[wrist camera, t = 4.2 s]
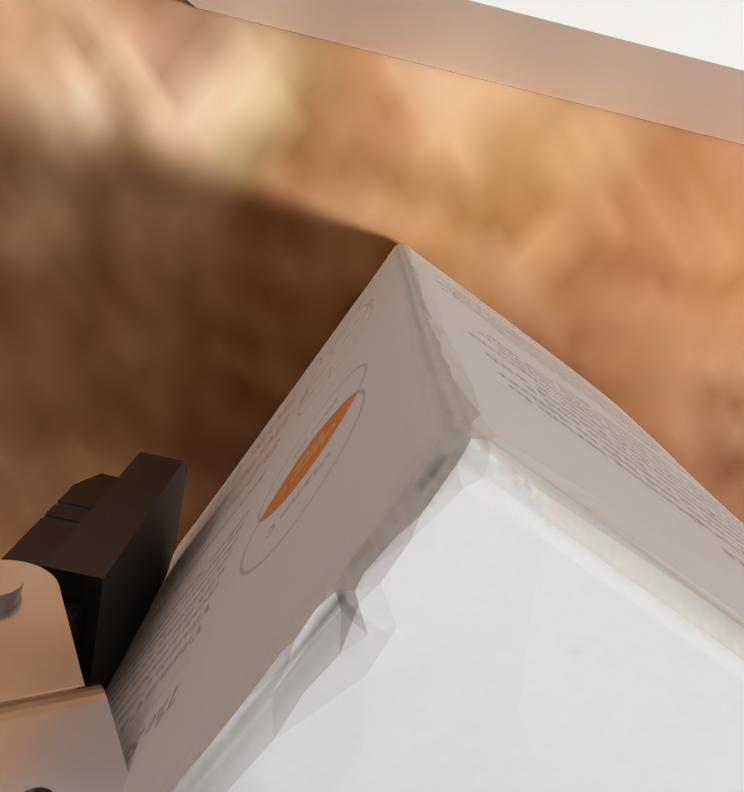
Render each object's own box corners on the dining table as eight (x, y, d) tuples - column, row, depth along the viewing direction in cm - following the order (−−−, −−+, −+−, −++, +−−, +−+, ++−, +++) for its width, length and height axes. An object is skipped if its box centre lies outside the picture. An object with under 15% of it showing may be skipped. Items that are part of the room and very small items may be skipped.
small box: (384, 668, 16) (388, 1507, 6) (174, 538, 15) (-240, 1273, 5) (624, 401, 14) (1246, 992, 4) (400, 229, 13) (466, 431, 3)
